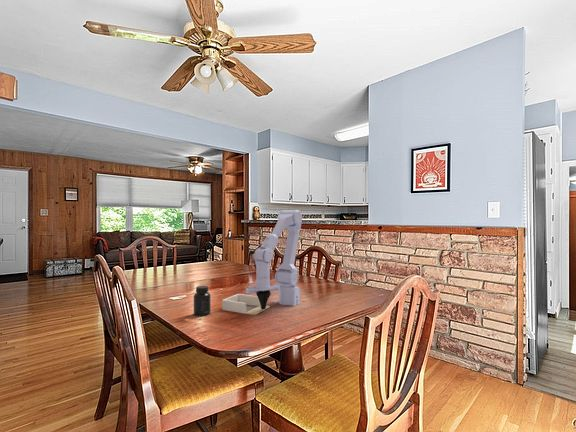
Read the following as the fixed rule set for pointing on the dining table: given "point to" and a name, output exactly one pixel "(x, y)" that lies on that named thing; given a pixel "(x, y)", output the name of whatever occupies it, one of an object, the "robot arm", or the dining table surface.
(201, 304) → the supplement bottle
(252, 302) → the carton
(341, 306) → the dining table surface
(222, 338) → the dining table surface
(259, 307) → the flap
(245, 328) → the dining table surface
